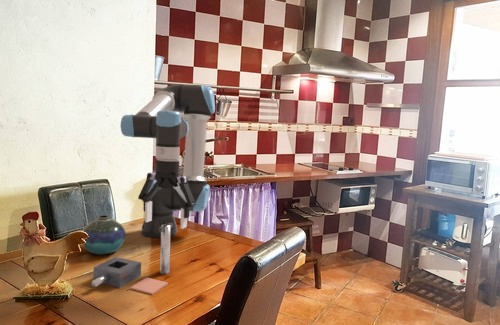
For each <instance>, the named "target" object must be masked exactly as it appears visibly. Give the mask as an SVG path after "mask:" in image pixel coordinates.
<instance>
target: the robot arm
mask: <svg viewBox="0 0 500 325" xmlns="http://www.w3.org/2000/svg"><path fill="white" fill-rule="evenodd" d="M215 111H216V103H215V94H214V90H213V88H212V87H211V86H209V85H202V84H201V85H200V84H181V83H180V84H179V83H178V84H173V85H172V84H171V85H169V86H165V87H163V88H161V89H159V90H158V91H157V92H155V93H154V94H153V96H152V99H151V101H149V102H148V103H147V104H146V105H144V107H142V108H141V109H140V110H139V111H138V112H137V113H135V114H125V115H123V116H122V117H121V120H120V132H121V134H122V135H123V136H124V137H132V138H144V139H147V138H148V139H155V159H156V160H155V162H154V163H155V164H154V170H155V172H153V171H152V172H148V173H147V174H146V179H145V182H144V184H143V186H142V188H141V190H140V193H139V194H138V196H137V198H138V200H141V201H142V202H143V212H144V220H143V223H142V225H141V234H142V235H143V236H145V237H148V238H156V239H157V238H160V239H161V232H159V227H161V225H163V224H168V223H173V227H172V228H171V229H170V237H172V236H175V235H176V234H177V233H178V225H177V223H176V218H175V215H174V212H175V211H180V226H179V227H180V229H181V230H183V229H186V228H187V227H188V218H189V217H190V216H191V215H190V213H191V212H193V213H194V212H204V211H205V210H206V208H207V206H208V203H209V202H208V201H209V198H210V192H211V191H210V190H211V186H210V185H209V184H207V183H208V180H207V179H206V178H205V177H204V173H205V172H204V171H205V160H206V159H205V158H206V157H205V156H206V141H207V126H208V121H209V120H210V119H211V118H212V114H215ZM182 113H183V117H184V118H182V116H181V114H182ZM185 119H186V120H185ZM183 138H185V145H184V146H185V147H184V157H183V158H184V162H183V172H182V173H183V175H182V176H179V171H180V161H179V159H180V153H181V152H180V151H181V150H180V148H181V146H180V145H181V139H183Z"/></svg>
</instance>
